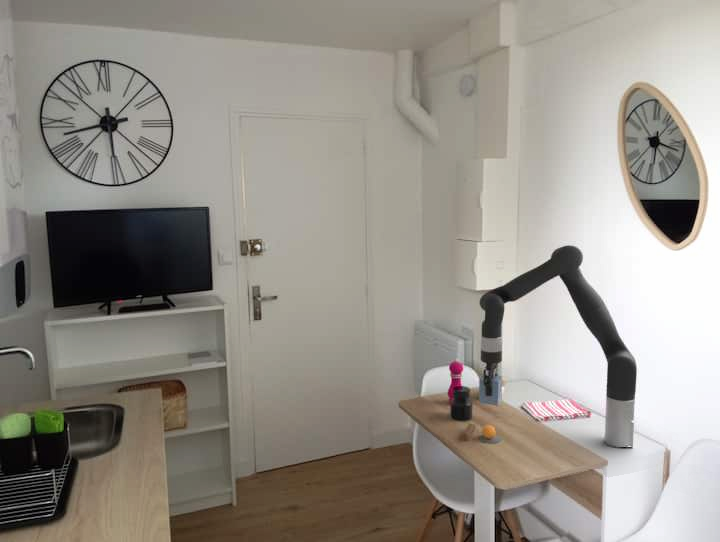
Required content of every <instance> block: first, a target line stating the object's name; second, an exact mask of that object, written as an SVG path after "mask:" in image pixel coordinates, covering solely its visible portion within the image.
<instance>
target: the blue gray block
mask: <svg viewBox="0 0 720 542" xmlns="http://www.w3.org/2000/svg"><path fill="white" fill-rule="evenodd" d="M502 380H503V376H501V375H498V376H495V378H494V380H493V381H492V396H486V395H485V386H484V373H483V374H482V376H481V377H480V378H479V380H478V382H479V383H478V384H479V385H478V386H479V387H478V389H479V391H478V393H479V395H478V399H479V400H478V401H479V404H482V405H484V404H485V405H491V406H499V405H500V403H501V401H502V400H503V395H502ZM487 383H489V380H487Z"/></svg>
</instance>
